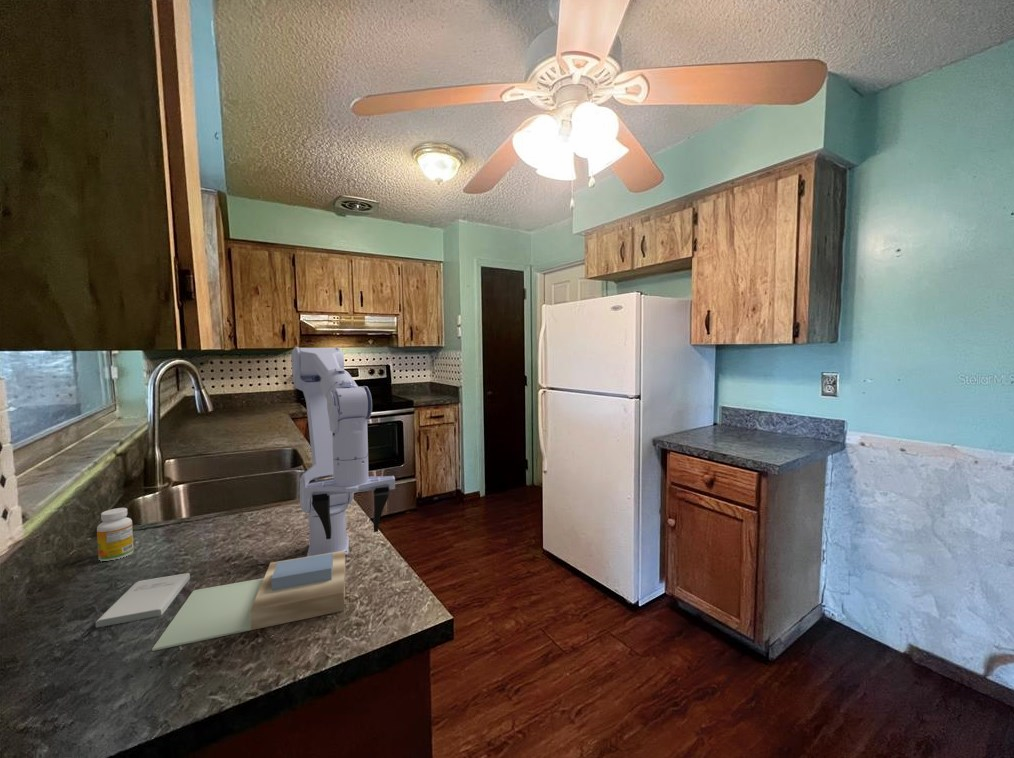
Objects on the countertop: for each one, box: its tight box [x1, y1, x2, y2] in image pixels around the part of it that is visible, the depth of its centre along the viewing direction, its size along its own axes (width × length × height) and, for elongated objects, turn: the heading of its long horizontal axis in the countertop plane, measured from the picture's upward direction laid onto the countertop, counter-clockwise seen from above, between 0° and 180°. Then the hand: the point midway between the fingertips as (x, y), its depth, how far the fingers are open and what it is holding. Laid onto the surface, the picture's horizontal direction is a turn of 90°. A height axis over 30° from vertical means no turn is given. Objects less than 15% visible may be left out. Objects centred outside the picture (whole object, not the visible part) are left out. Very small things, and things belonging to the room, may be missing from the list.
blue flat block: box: [271, 553, 333, 591], centre depth 71 cm, size 6×9×2 cm, turn 111°
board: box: [250, 551, 347, 631], centre depth 71 cm, size 16×13×3 cm
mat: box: [151, 577, 264, 652], centre depth 67 cm, size 16×12×1 cm
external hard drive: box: [95, 572, 191, 628], centre depth 70 cm, size 2×8×12 cm
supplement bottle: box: [96, 507, 134, 562], centre depth 86 cm, size 5×5×10 cm
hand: (352, 533), depth 71 cm, fingers open, 7 cm apart
